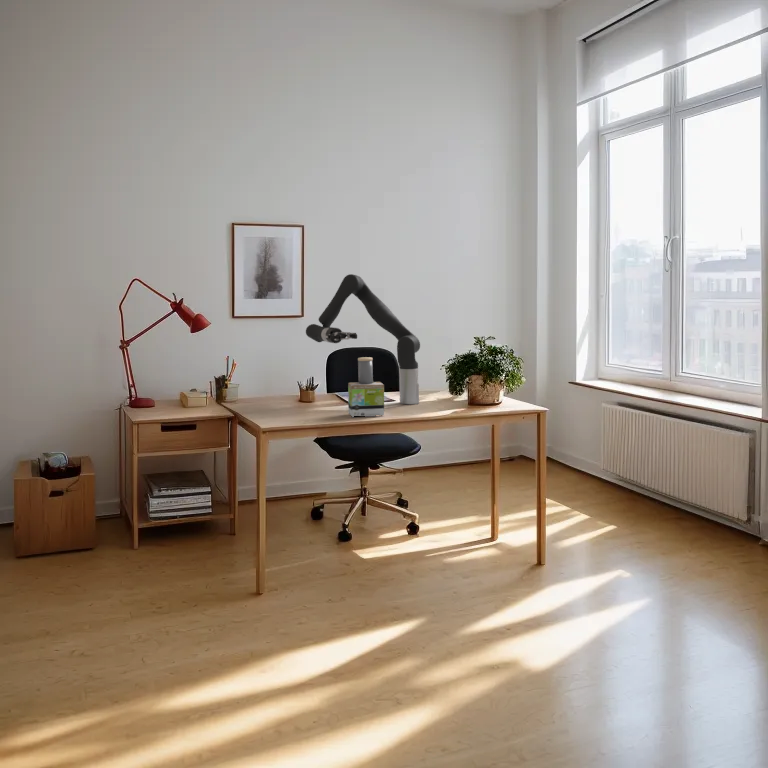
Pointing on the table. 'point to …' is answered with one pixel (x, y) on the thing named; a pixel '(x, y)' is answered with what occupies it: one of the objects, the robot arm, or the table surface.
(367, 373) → the canister
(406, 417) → the table surface
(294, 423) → the table surface
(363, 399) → the tea box
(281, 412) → the table surface
